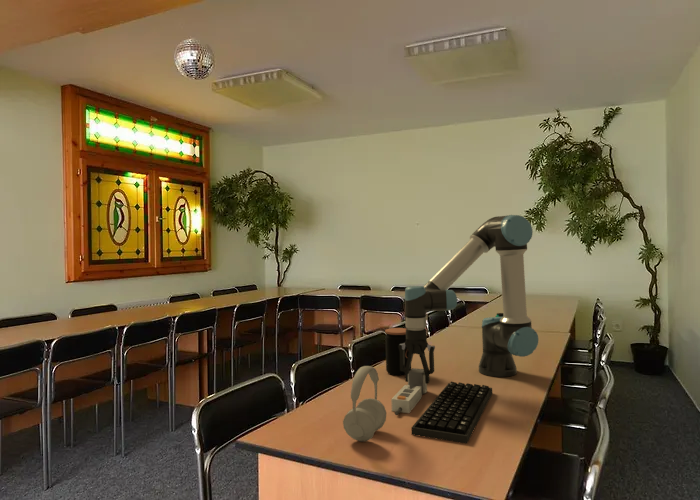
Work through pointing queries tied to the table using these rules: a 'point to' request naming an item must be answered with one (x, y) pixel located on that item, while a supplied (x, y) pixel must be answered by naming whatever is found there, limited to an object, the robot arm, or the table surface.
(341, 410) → the table surface
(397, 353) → the coffee jar
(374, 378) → the headphones
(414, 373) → the charger
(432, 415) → the computer keyboard
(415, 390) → the strip
